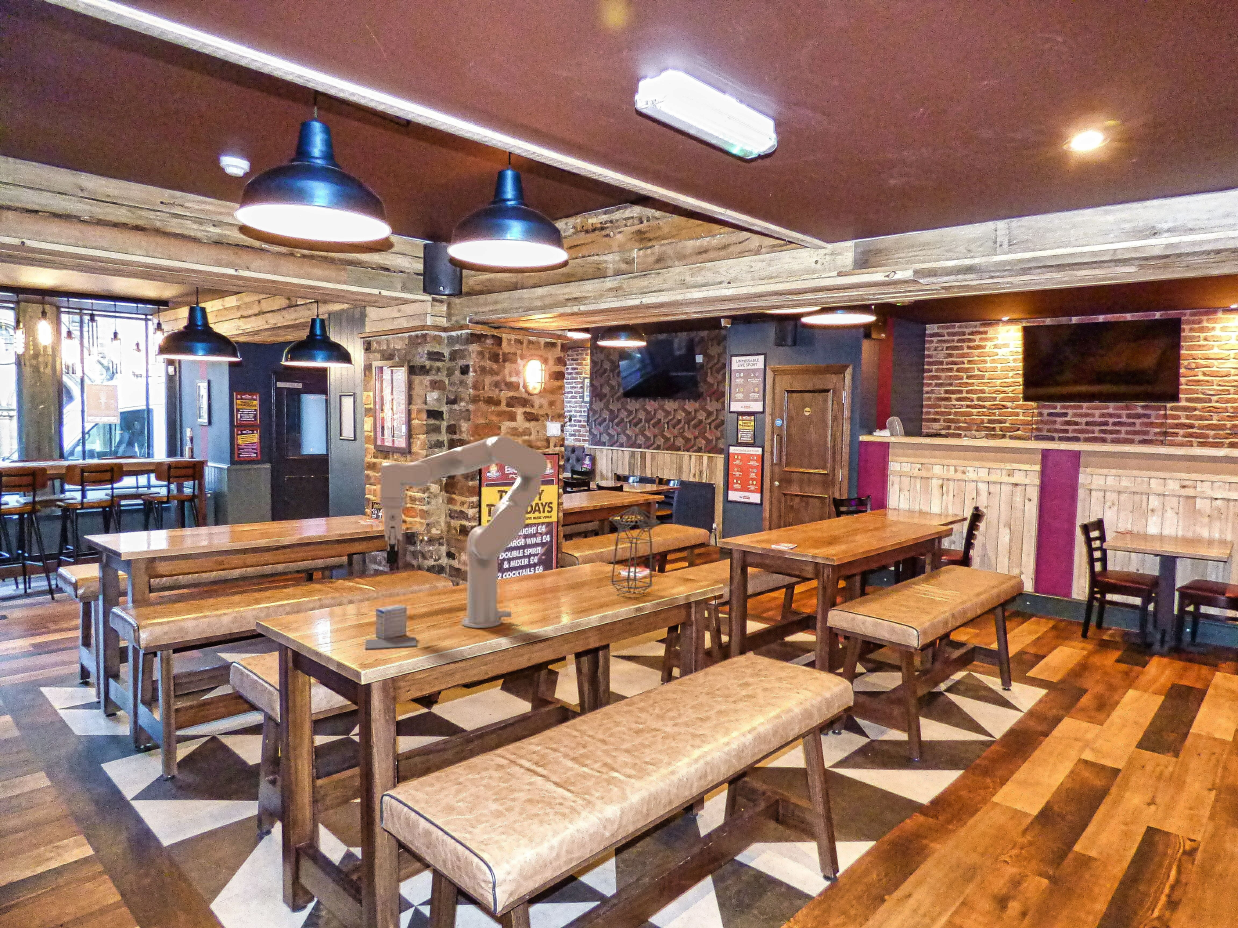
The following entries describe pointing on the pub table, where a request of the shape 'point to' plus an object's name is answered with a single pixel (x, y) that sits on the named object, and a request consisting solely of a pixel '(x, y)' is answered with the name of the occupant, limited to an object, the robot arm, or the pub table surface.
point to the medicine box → (391, 621)
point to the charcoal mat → (390, 643)
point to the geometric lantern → (638, 511)
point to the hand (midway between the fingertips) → (392, 561)
